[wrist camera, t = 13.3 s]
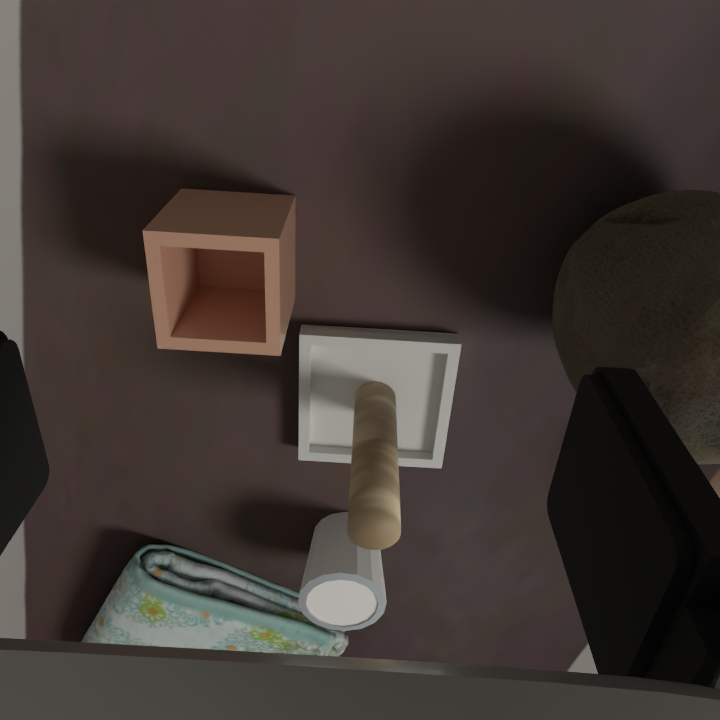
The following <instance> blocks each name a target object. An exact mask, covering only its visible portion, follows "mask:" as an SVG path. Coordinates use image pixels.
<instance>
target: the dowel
mask: <svg viewBox="0 0 720 720" xmlns="http://www.w3.org/2000/svg"><path fill="white" fill-rule="evenodd" d="M347 532H348V536H349V538H350V540H351V541H352V542H353V543H354V544H356V545H357V546H359V547H361V548H364V549H368V550H381V549H385V548H388V547H390V546H392V545H393V544H395V543H396V542H397V541H398V539H399V538H400V535H401V517H400V492H399V467H398V442H397V417H396V396H395V393H394V391H393V389H392V388H391V387H390V386H388V385H387V384H385V383H382V382H369V383H366V384H364V385H362V386H361V387H360V388H359V389H358V390H357V392H356V394H355V404H354V422H353V440H352V457H351V475H350V492H349V510H348V528H347Z"/></svg>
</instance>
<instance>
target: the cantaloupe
mask: <svg viewBox="0 0 720 720" xmlns="http://www.w3.org/2000/svg"><path fill="white" fill-rule="evenodd" d="M553 333H554V339H555V343H556V347H557V350H558V353H559V356H560V359H561V362H562V364H563V367H564V369H565V372H566V374H567V376H568V379H569V380H570V382H571V384H572V386H573V387H574V389H575V390H576V392H577V391H578V387H579V384H580V381H581V378H582V377H583V375H585V374H589V375H592V372H593V371H594V370H595V368H597V367H598V366H600V367H616V368H631V369H634V370H635V371H636V372H637V373H638V374H639V376H640V378H641V379H642V381H643V382H644V384H645V385H646V387H647V388H648V390H649V391H650V393H651V394H652V396H653V397H654V399H655V401H656V402H657V404H658V405H659V407H660V408H661V410H662V411H663V413H664V414H665V416H666V417H667V419H668V420H669V422H670V423H671V425H672V427H673V428H674V430H675V431H676V433H677V434H678V436H679V437H680V439H681V440H682V442H683V443H684V445H685V446H686V448H687V450H688V451H689V453H690V454H691V456H692V457H693V458H694V460H695V461H696V463H697V464H719V463H720V194H719V193H717V192H712V191H705V190H681V191H671V192H665V193H660V194H656V195H652V196H648V197H644V198H642V199H639V200H636V201H634V202H631V203H628V204H626V205H624V206H622V207H620V208H617V209H615V210H613V211H611V212H610V213H608V214H606V215H605V216H603V217H602V218H600V219H599V220H598V221H597V222H595V223H594V224H593V225H592V226H591V227H590V228H589V229H588V230H587V231H586V232H585V233H584V234H583V235H582V236H581V237H580V238H579V239H578V240H577V241H576V242H575V243H574V244H573V245H572V246H571V248H570V250H569V251H568V253H567V255H566V257H565V259H564V261H563V263H562V266H561V268H560V271H559V274H558V278H557V282H556V286H555V291H554V298H553Z"/></svg>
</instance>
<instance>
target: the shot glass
mask: <svg viewBox="0 0 720 720" xmlns="http://www.w3.org/2000/svg"><path fill="white" fill-rule="evenodd" d="M347 528H348V512H341V513H335V514H331V515H329V516H327V517H325V518H323V519H321V520H320V522H319V523H318V524H317V525H316V527H315V530H314V534H313V538H312V542H311V547H310V551H309V555H308V559H307V563H306V568H305V572H304V576H303V580H302V585H301V589H300V594H299V600H298V604H299V607H300V609H301V611H302V613H303V615H304V616H306V617H307V618H308V619H309V620H310V621H311V622H313V623H314V624H317V625H319V626H322V627H324V628H327V629H332V630H341V631H348V630H356V629H362V628H364V627H366V626H368V625H371V624H373V623H375V622H376V621H377V620H378V619H379V618H380V617H381V616H382V615H383V614H384V610H385V607H386V603H387V602H386V593H385V585H384V577H383V568H382V560H381V552H380V550H368V549H364V548H361V547H359V546H357V545H356V544H354V543H353V542H352V541H351V540H350V538H349V536H348V532H347Z"/></svg>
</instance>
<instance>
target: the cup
mask: <svg viewBox="0 0 720 720" xmlns="http://www.w3.org/2000/svg"><path fill="white" fill-rule="evenodd" d="M142 231H143V239H144V246H145V254H146V262H147V270H148V278H149V285H150V293H151V301H152V309H153V317H154V324H155V332H156V340H157V348H158V349H175V350H191V351H208V352H225V353H241V354H258V355H274V356H281V352H282V348H283V344H284V340H285V336H286V332H287V329H288V325H289V321H290V317H291V313H292V309H293V305H294V301H295V195H279V194H263V193H247V192H231V191H215V190H199V189H183V188H181V189H180V190H179V191H178V193H177V194H176V195H175V196H174V197H173V198H172V199H171V200H170V201H169V202H168V203H167V204H166V206H165V207H164V208H163V209H162V210H161V211H160V212H159V213H158V214H157V215H156V216H155V217H154V219H153V220H152V221H151V222H150V223H149V224H148V225H147V226H146V227H145V228H144V229H143V230H142Z"/></svg>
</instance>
